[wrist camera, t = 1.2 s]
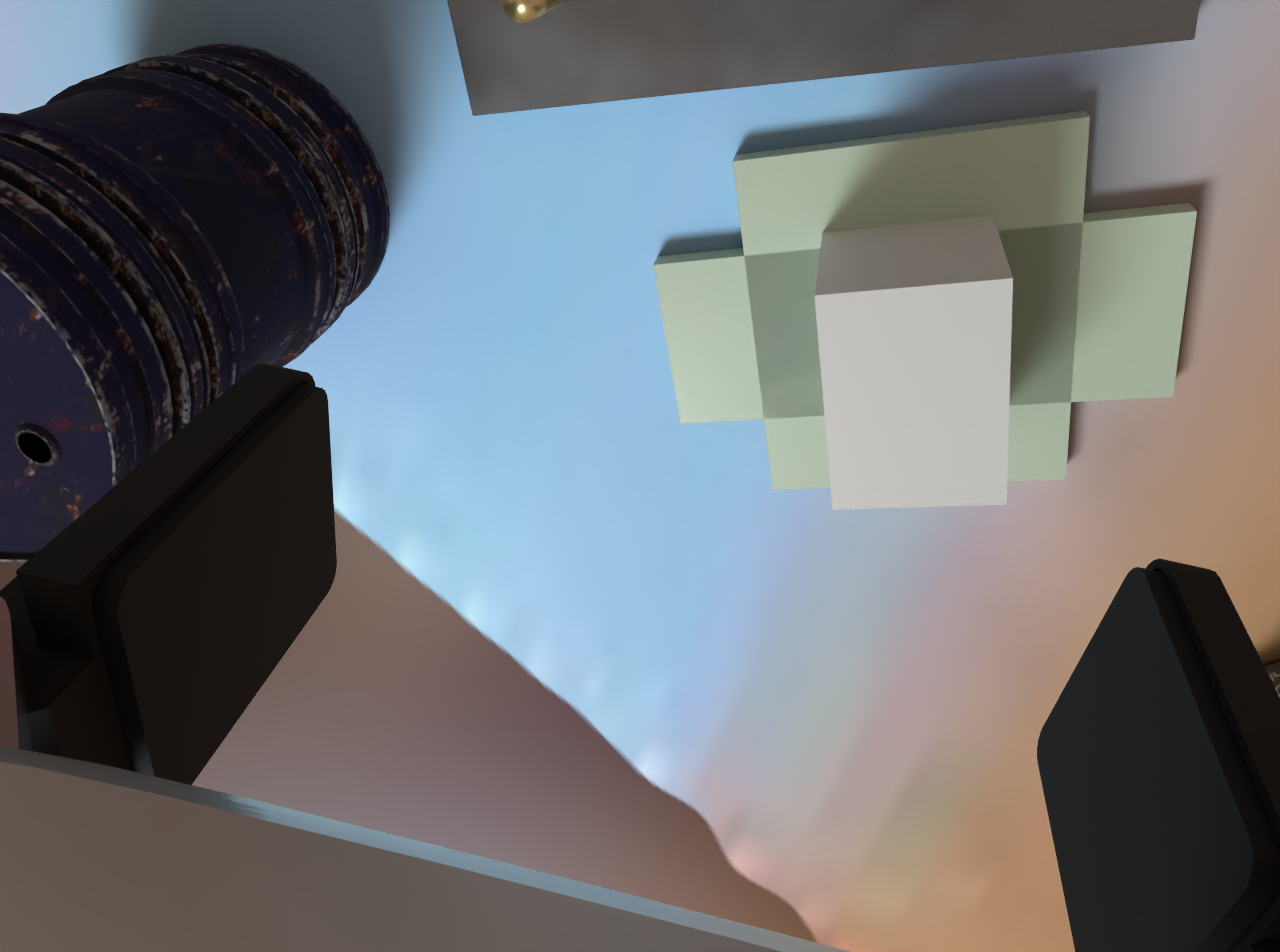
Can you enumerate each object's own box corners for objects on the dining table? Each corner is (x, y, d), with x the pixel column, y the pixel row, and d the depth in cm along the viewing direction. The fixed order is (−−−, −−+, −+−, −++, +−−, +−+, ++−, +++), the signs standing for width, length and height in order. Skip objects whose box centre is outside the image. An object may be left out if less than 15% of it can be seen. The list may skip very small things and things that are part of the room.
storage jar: (115, 247, 36) (-268, 456, 24) (140, -17, 31) (-343, 81, 18) (358, 364, 37) (105, 624, 25) (426, 127, 31) (143, 313, 19)
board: (1198, 91, 27) (1274, 151, 22) (1154, 456, 33) (1205, 569, 28) (644, 162, 31) (600, 226, 26) (697, 475, 37) (670, 576, 32)
